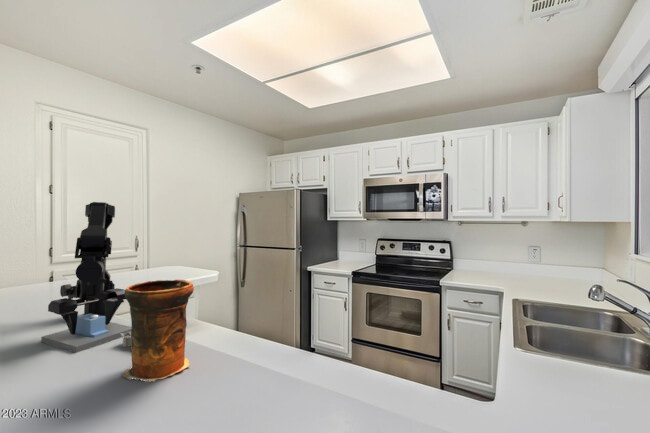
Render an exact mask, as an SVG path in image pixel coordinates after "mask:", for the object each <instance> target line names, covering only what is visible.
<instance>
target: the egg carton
mask: <svg viewBox="0 0 650 433" xmlns="http://www.w3.org/2000/svg"><path fill="white" fill-rule="evenodd" d="M120 334H121V335H122V336H123V337H122V347H124V348H125V347H131V331H130V332H126V333H120Z"/></svg>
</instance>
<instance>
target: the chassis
mask: <svg viewBox="0 0 650 433" xmlns="http://www.w3.org/2000/svg"><path fill="white" fill-rule="evenodd" d="M131 328H132V326H130V325H126V324H125V325H124V324H119V323H115V322H111V321H110V323H109V324H108V325H106V324H105V330H109V333H107V334H104V335H101V336H97V337H90V338H89V337H85V336H82V335H78V334H74V335H72V334H71V333H70V331H69V329H68V328H67V329H65V330H61V331H58V332H53V333H50V334H46V335H42V336H40V337H41V341H40V342H41V343H43V344H47V345H50V346H53V347H57V348H59V349H63V350H66V351H70V352H73V353H79V352H83V351H85V350H88V349H91V348H94V347H97V346H100V345H103V344H105V343H108V342H112V341H114V340H117V339H120V338H124V337H123V336H122V335H121V334H120V333H126V332H130V331H131Z"/></svg>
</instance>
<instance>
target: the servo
mask: <svg viewBox="0 0 650 433" xmlns="http://www.w3.org/2000/svg"><path fill="white" fill-rule="evenodd" d="M107 333H109V330H105V315H103V316H100V315H96V314H91V313H90V314H86V315H83V314H82V315H78V317H77V325H76V331H75V334H78V335H82V336H85V337H89V338H90V337H97V336H101V335H104V334H107Z"/></svg>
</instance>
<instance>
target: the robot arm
mask: <svg viewBox="0 0 650 433" xmlns="http://www.w3.org/2000/svg"><path fill="white" fill-rule="evenodd" d="M84 216H85V217H86V218H87V222H88V223H87V226H86V228H84V229H82V230H81V231H80V236H79V237H77V238H76V243H75V244H76V245H75V252H74V259H80V264H78V266H77V267H76V269H75V276H76V278H77V281H76V284H75V285H72V284H71V283H68V284H63V285H60V288H59V289H60V292H59V293H60V296H61V297H62V298H59V299H53V300H51V301H50V303H48V307H47V308H48V309H47V311H48V312H50V313H53V314H56V315H60V316H61V317H62V318H63V321H64V322H65V324H66V326H67V329H69V331H70V333H71V334H72V335H74V334H75V331H76V325H77V317H78V316H79V315H78V314H79V311H77V308H78V307H79V306H80V307H81V306H83V305H84V307H83V308H84V310H83V312H84V313H82V315H86V314H90V313H91V314H96V315H100V316H105V324H106V325H108V324H109V323H110V322H111V321H112V319H113V317H114V315H115V314H116V312H117V310H118V309H119V307H120V306H121V305H122V304H123V303H124V302H125V300H126V298H125V290H126V289H124V288H119V287H118V288H116V287H115V283H114V282H113V280H111V275H110V273H109V271H108V270H107V269H106V268H107V265H106V264H107V258H109V256H110V255H111V254H112V248H113V241H112V240H111V237H109V236H108V228H109V227H110V226H111V225H112V223H113V220H114V219H113V218H116V206H115V205H112V204H109V203H108V202H103V201H92V202H90V203H89V204H85V210H84ZM64 297H65V298H64Z"/></svg>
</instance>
